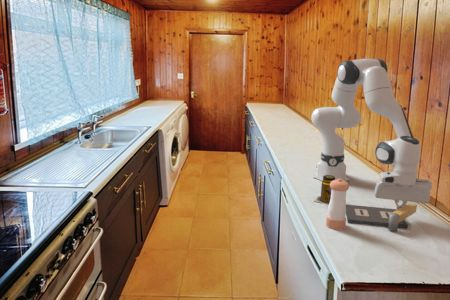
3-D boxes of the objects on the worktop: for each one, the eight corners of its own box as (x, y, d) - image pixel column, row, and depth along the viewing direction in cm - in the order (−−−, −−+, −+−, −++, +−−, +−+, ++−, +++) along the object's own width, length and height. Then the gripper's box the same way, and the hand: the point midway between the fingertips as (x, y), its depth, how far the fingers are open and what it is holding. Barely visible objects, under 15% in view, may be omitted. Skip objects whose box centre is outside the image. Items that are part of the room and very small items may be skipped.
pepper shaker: (330, 220, 151) (334, 174, 146) (348, 225, 146) (353, 178, 142) (322, 225, 145) (326, 179, 141) (340, 231, 141) (345, 183, 136)
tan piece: (394, 232, 140) (396, 217, 139) (386, 229, 142) (388, 214, 141) (415, 218, 152) (417, 205, 151) (407, 216, 154) (409, 202, 153)
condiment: (332, 205, 166) (334, 179, 163) (313, 201, 170) (315, 176, 167) (336, 200, 172) (338, 175, 169) (318, 196, 176) (320, 172, 173)
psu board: (344, 207, 164) (344, 203, 163) (398, 212, 159) (398, 208, 159) (347, 222, 149) (348, 218, 148) (407, 228, 144) (408, 224, 144)
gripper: (430, 177, 148) (425, 210, 152) (375, 172, 153) (371, 204, 156) (435, 182, 142) (429, 216, 146) (378, 177, 147) (373, 210, 150)
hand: (399, 210), depth 151 cm, fingers closed
